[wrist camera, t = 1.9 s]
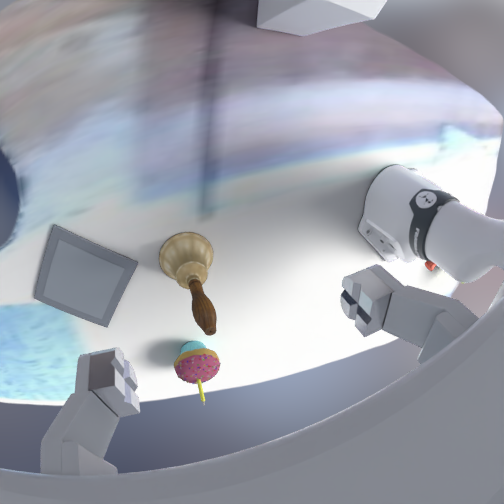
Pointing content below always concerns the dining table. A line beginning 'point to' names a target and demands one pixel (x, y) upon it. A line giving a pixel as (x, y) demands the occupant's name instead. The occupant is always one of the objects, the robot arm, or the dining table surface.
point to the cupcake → (196, 364)
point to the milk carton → (314, 14)
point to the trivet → (82, 277)
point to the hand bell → (191, 273)
